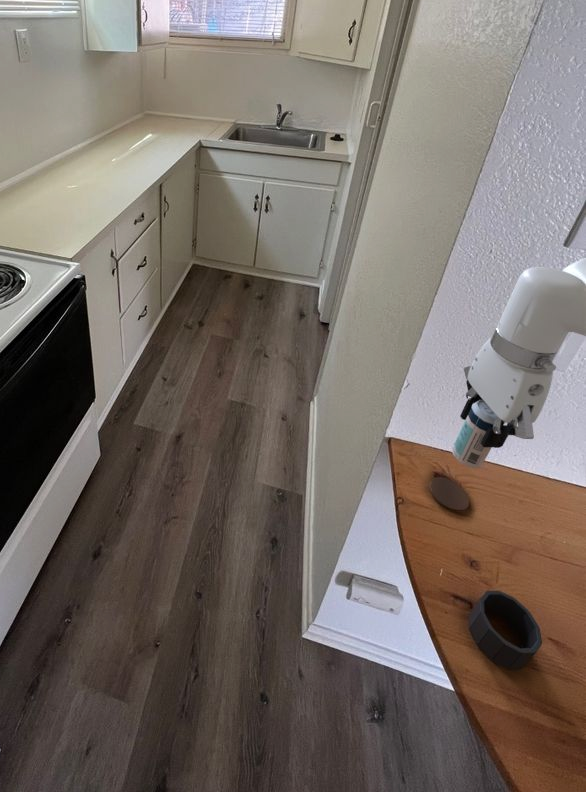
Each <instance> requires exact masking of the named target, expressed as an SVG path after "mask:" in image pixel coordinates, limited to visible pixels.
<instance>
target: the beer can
mask: <svg viewBox="0 0 586 792" xmlns="http://www.w3.org/2000/svg"><path fill="white" fill-rule="evenodd" d="M494 419H495V413H494V412H493V411H492V409H491V408H490V407H489V406H488V405H487V404H486V403H485V401H484V400H479V401H477V402H475V403H473V405H472V407H471V410H470V412H469V414H468V416H467V418H466V420H464V422H463V425H462V427H461V428H460V430H459V433H458V436H457V437H456V439H455V441H454V444H453V446H452V448H451V452H452V455H453V457H454V458H455V459H456V460H457V461H458V462H459V463H461V464H462V465H464V466H466V467H469V468H471V469H479V468H482V467H483V466H484V463H485V461H486V459H487V457H488V456H489V453H490V451H491V449H492V448H493V447H483V446H482V445H481V441H482V439H483V438H484V436H485V434H486V432H487V430H488V428H489V427H493V425H494ZM503 425H506V422H504V424H503Z"/></svg>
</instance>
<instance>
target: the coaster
mask: <svg viewBox="0 0 586 792" xmlns="http://www.w3.org/2000/svg"><path fill="white" fill-rule="evenodd" d="M428 488H429V493H430V494H431V497H432V498H433V499H434V500H435V502H437V503H438V504H439V505H440V506H442V507H443V508H444V509H446V510H449V511H451V512H455V513H461V512H462V513H463V512H465V511H466V510H467V509H468V507H469V505H470V498H469V495H468V494H467V492H466V491H465V489H464V488H463V487H462V486H461V485H460V484H459V483H457V482H455V481H454V480H452V479H450V478H447V477H443V476H436V477H434V478H433V479H432V480H430V483H429V487H428Z"/></svg>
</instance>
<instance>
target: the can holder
mask: <svg viewBox="0 0 586 792" xmlns="http://www.w3.org/2000/svg"><path fill="white" fill-rule="evenodd" d="M486 612H487V613H489V614H492V615H495V616H496V617H498V618H500V619H501V620H502V621H503V622H504V623H506V624H507V625H508V626H509V627H510V628H511V629H512V631H513V632H514V634H515V635H516V637H517V639H518V640H519V642H520V644H521V647H519V646H516V645H514V644H513V643H511V642H509V641H507V640H506V639H505V638H503V636H501V635H500V633H498V632H497V631H496V629H495V628H493V626H492V624H491V623H490V620H489V619H488V617H487V615H486ZM467 618H468V620H467V621H468V631H469V632H470V635H471V636H472V639H473V641H474V643H475V645H476V646H477V648H478V649H479V650H480V651H481V652H482V653H483V654H484V655H485V656H486V657H487V659H488V660H490V661H491V662H492V663H494V664H496V665H498V666H500V667H502V668H503V669H505V670H509V671H512V670H513V671H515V670H522V669H523V668H524V667H525V666H526V665H527V664H528V663H529V661H531V659H532V658H533V657H534V656H535V655H536V654H537V653H538V651H539V650H540V648H541V646H542V645H543V639H542V634H541V628H540V626H539V625H538V623H537V621H536V620H535V618H534V617H533V614H532V613H531V612H530V611H529V609H528V608H526V606H525V605H523V604H522V603H521V602H520V601H519V600H518V599H517V598H515V597H513V596H512V595H510V594H508V593H506V592H503V591H501V590H485V592H484V593H483V594H482V595H481V596H480V598H479V599H478V600H477V602H476V603H475V605H474V606H473V608H472V609H471V611H470V613H468V616H467Z"/></svg>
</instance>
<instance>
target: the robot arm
mask: <svg viewBox="0 0 586 792" xmlns="http://www.w3.org/2000/svg"><path fill="white" fill-rule="evenodd" d="M569 333H574V334H577V335H582V336H585V337H586V257H584V258H581V259H579V260H577V261H574V262H572V263H570V264H569V265H567V266H566V267H564V268H563V269H562V270H561V269H558V268H554V267H547V266H533V267H529V268H526V269H525V270H523V272H522V273H520V275H519V277H518V279H517V281H516V284H515V285H514V288H513V290H512V293H511V295H510V296H509V299H508V301H507V303H506V305H505V308H504V309H503V311H502V315H500V319H499V321H498V322H497V326H496V327H495V330H494V332H493V334H492V336H490V337H489V338H488V339H487V340H486V341H485V342H484V344H483V345H482V346H481V348H480V349H479V351H478V352H477V354H476V355H475V358H474V359H473V361H472V363H471V365H468V366H465V367H463V372H464V376H465V379H466V381H465V382H466V383H465V384H466V389H467V392H466V393H465V397H466V399H467V400H466V402H465V405H464V407H463V409H462V410H461V413H460V415H459V416H460V417H459V418H461V420H462V421H465V420H466V418H467V416H468V414H469V412H470V410H471V407H472V405H473V403H475V402H477V401H479V400H484V401H485V403H486V404H487V405H488V406H489V407H490V408H491V409H492V411H493V412H494V413H495V419H494V425H493V427H489V428H488V430H487V432H486V434H485V436H484V438H483V439H482V441H481V445H482V446H483V447H492V448H493V449H499V448H502V447H503V446H504V444H505V442H506V441H507V439H508V437H509V436H514V437H516V438H519V439H522V440H533V439H534V438H535V434H534V427H533V424H534V423H535V422H536V421H537V419H538V418H539V416H540V414H541V412H542V410H543V407H544V405H545V403H546V401H547V398H548V396H549V392H550V389H551V387H552V382H553V377H554V376H553V374H554V371H555V370H556V369H557V366H556V364H554V362H553V361H554V359H555V357H556V356H557V354H558V352H559V351H560V350H561V349H560V348H561V347H562V345H563V344H564V341H565V340H566V338H567V336H568V335H569ZM504 422H505V424H504ZM503 424H504V425H503Z"/></svg>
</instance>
